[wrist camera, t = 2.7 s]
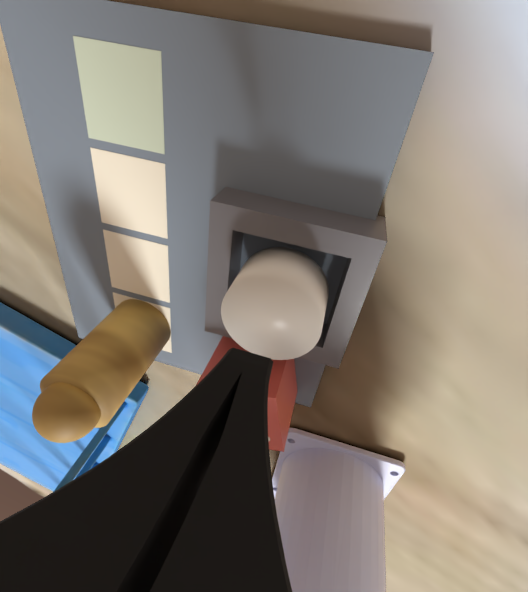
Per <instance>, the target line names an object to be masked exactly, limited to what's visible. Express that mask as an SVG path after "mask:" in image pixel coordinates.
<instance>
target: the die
mask: <svg viewBox="0 0 528 592" xmlns="http://www.w3.org/2000/svg"><path fill="white" fill-rule="evenodd" d="M231 348H236V349H240V350H243V351H247V350H245V349H244V348H243V347H241V346H240V345H239V344H238V343H236V342H235V341H234V340H233V339H232V338H228V337H225V336H223V337H222V338H221V340H220V342H219V344H218V346H217V348H216V349H215V351H214V353H213V355H212V357H211V359H210V361H209V362H208V364H207V366H206V368H205V370H204V372H203V373H202V375H201V377H200V379H199V381H198V383H199V382H200V381H201V380H202V379H203V378H204V377H205V376H206V375H207V374H208V373H209V372H210V371H211V370H212V369H213V368H214V367H215V366H216V365H217V363H218V362H219V361H220V360H221V359H222V358H223V356H224V355H225V354H226V353H227V351H228V350H229V349H231ZM247 352H249V351H247ZM250 353H251V352H250ZM271 360H272V361H273V366H272V371H271V375H270V380H269V388H268V442H269V449H270V450H276V451H282V452H284V449H285V444H286V440H287V435H288V431H289V427H290V422H291V418H292V413H293V409H294V405H295V400H296V396H297V382H296V372H295V362H294V359H289V360H273V359H271ZM198 383H197V384H198Z"/></svg>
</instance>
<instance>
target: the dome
mask: <svg viewBox="0 0 528 592" xmlns="http://www.w3.org/2000/svg"><path fill="white" fill-rule="evenodd" d="M328 296H329V287H328V282H327V278H326V276H325V274H324V272H323V270H322V269H321V268H320V266H319V265H318V264H317V263H316V262H315V261H314V260H313V259H311V258H310V257H309V256H307V255H305V254H304V253H302V252H300V251H297V250H294V249H291V248H285V247H272V248H267V249H264V250H261V251H259V252H257V253H255V254H254V255H252V256H251V257H250V258H249V259H248V260H247V261H246V262H245V264H244V265H243V267H242V269H241V270H240V272H239V273H238V275H237V277H236V278H235V280H234V281H233V283H232V285H231V286H230V288H229V289H228V291H227V293H226V294H225V296H224V298H223V301H222V305H221V317H222V321H223V324H224V326H225V328H226V330H227V332H228V333H229V335H230V336H231V337H232V339H233V340H234V341H235V342H236V343H238V344H239V345H240V346H241V347H243V348H244V349H245V350H247V351H249V352H251V353H254V354H257V355H261V356H264V357H268V358H271V359H273V360H289V359H294V358H297V357H300V356H302V355H304V354H306V353H308V352H309V351H310V350H312V349H313V348H314V347H315V345H316V344H317V342H318V341H319V339H320V336H321V333H322V328H323V322H324V317H325V312H326V306H327V301H328Z"/></svg>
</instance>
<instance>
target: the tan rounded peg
mask: <svg viewBox="0 0 528 592" xmlns="http://www.w3.org/2000/svg"><path fill="white" fill-rule="evenodd" d="M170 336H171V329H170V325H169V323H168V321H167V319H166V318H165V316H164V315H163V314H162V313H161V312H160V311H159V310H158V309H157V308H155V307H154V306H152V305H151V304H149V303H147V302H144V301H141V300H137V299H128V300H125V301H123V302H121V303H120V304H119V305H118V306H117V307H116V308H115V309H114V310H113V311H112V312H111V313H110V314H109V315H108V316H106V317H105V318H104V319H103V320H102V321H101V322H100V323H99V324H98V325H97V326H96V327H95V328H94V329H93V330H92V331H91V332H90V333H89V334H88V335H87V336H86V337H85V338H84V339H83V340H82V341H81V342H80V343H79V344H78V345H76V346H75V347H74V348H73V349H72V350H71V351H70V352H69V353H68V354H67V355H66V356H65V357H64V358H63V359H62V360H61V361H60V362H59V363H58V364H57V365H56V366H55V367H54V368H53V369H52V370H51V371H50V372H49V373H47V374H46V375H45V376H44V377H43V378H42V380H41V381H40V390H41V394H40V395H39V396H38V398H37V399H36V401H35V403H34V406H33V411H32V420H33V424H34V427H35V429H36V430H37V432H38V433H39V434H40V435H41V436H42V437H43V438H45V439H47V440H49V441H52V442H56V443H68V442H73V441H76V440H78V439H80V438H82V437H84V436H86V435H87V434H88V433H89V432H91V431H92V430H93V428H101V427H104V426H106V425H107V424H108V423H109V422H110V420H111V419H112V418H113V416H114V415H115V413H116V412H117V411H118V409H119V408H120V406H121V405H122V404H123V402H124V401H125V400H126V398H127V397H128V395H129V394H130V393H131V391H132V390H133V389H134V387H135V386H136V384H137V383H138V382H139V380H140V379H141V378H142V376H143V375H144V373H145V372H146V371H147V369H148V368H149V367H150V365H151V364H152V362H153V361H154V360H155V358H156V357H157V356H158V354H159V353H160V351H161V350H162V349H163V347H164V346H165V345H166V343H167V342H168V340H169V339H170Z"/></svg>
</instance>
